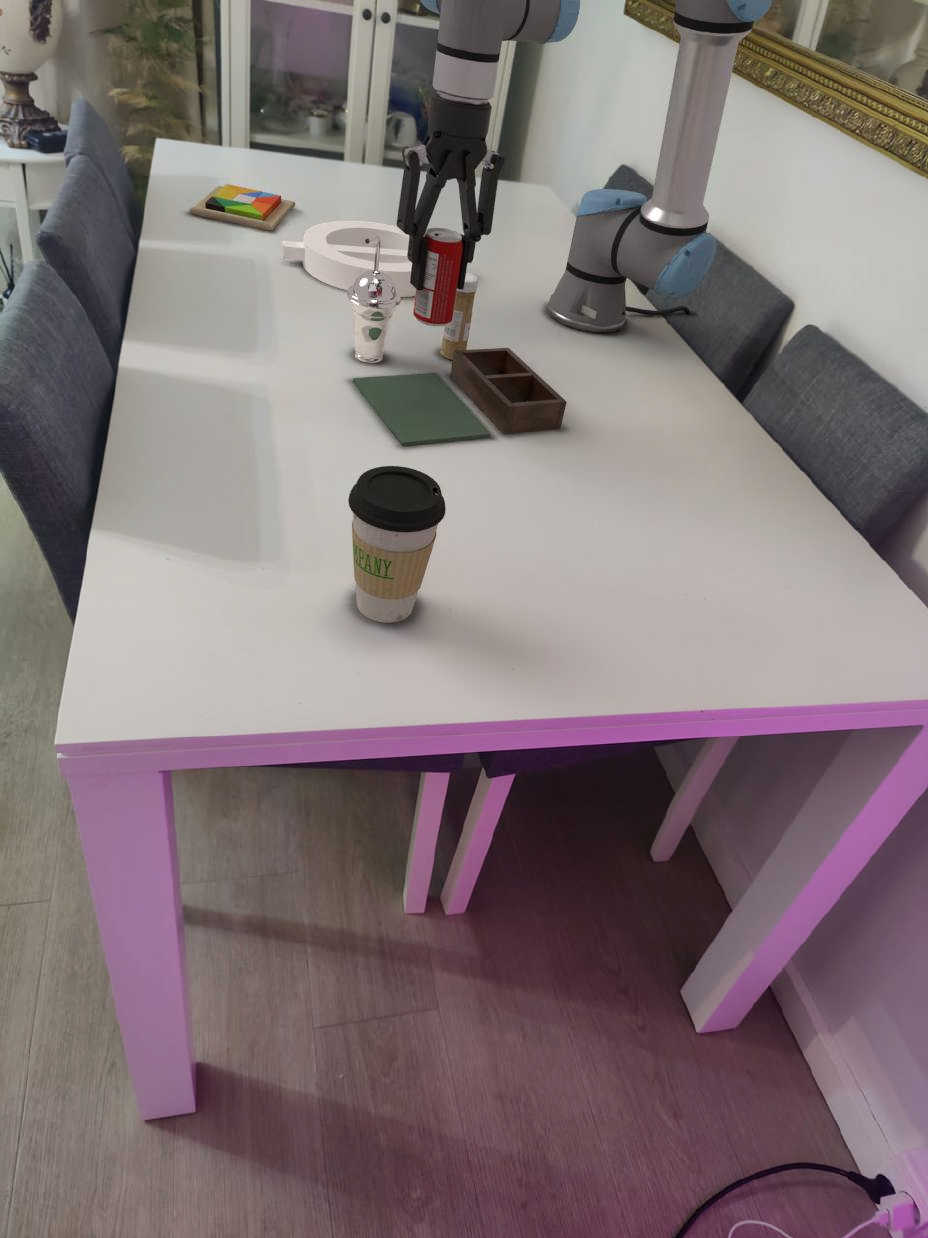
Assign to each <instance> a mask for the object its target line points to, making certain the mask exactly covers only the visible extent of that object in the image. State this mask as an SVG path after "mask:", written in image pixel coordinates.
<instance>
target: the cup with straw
mask: <svg viewBox="0 0 928 1238" xmlns="http://www.w3.org/2000/svg"><path fill="white" fill-rule="evenodd" d="M373 242H376V251H375V263H374V270H369V271H366V272H364V273H362V274H360V275H359V276H358V277H357V279H356V280H355V282H354V284H353V285H352V286H350V287H349V289H348V291H347V292H346V297H347V299H348V300H349V301H351V308H352V316H353V341H354V351H355V353H354V357H355V358H356V359H357V360H358V361H360V362H363V363H369V364H376V363H379V362H381V361H383V359H384V357H383V355H384V353H385V350H386V345H387V341H388V337H389V331H390V327H391V322H392V319H393V317H394V314H395V311H396V308H397V307H399V306H400V305H401V303H402V297H401V296H400V294H399V292H397V290H396V286H395V284H394V282H393V280H392V279H391V277H389V276H388V275H387V274H386V273H384V272H382V271H379V270H378V269H379V258H380V247H381V239H380V237H379V236H375V237H372V238H368V239H366V240H365V243H366V244H369V243H373Z"/></svg>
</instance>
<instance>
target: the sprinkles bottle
mask: <svg viewBox="0 0 928 1238" xmlns="http://www.w3.org/2000/svg"><path fill="white" fill-rule="evenodd" d="M478 287H479V278H478V276H477V275H475V274H473V273H471V272H470V273H469V272H467V271H466V276H465V283H464V289H458V288H457V291H456V298H455V304H454V311H453V318H452V321H451V322H450V323H448V324H447V325H445V326H443V328H442V329H443V330H442V340H441V348H440V350H439V353H440V355H441V356H442V357H443V358H445V359H448V360H452V361H453V355H454V351H455V350H468V342H469V338H470V330H471V325H472V317H473V308H474V302H475V297H476V293H477V290H478Z"/></svg>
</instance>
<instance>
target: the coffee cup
mask: <svg viewBox="0 0 928 1238" xmlns="http://www.w3.org/2000/svg"><path fill="white" fill-rule="evenodd" d="M347 499H348V500H347V501H348V507H349V509H350V510H351V512H352V520H351V538H352V557H353V558H352V559H353V561H352V562H353V577H354V582H355V593H356V595H355V596H356V597H355V599H356V607H357V609H358V611H359V612H360V613H361V614H362V615H363V616H364V617H366V618H367V619H369V620H371V621H375V622H378V623H386V624H392V623H399V622H401V621H404V620H405V619H407V618H408V617H409V616H410V615H411V614H412V612H413V610H414V606H415V603H416V600H417V596H418V594H419V593H418V592H419V590H420V589H421V587H422V585H423V584H422V583H423V581H424V577H425V574H426V571H427V568H428V564H429V561H430V557H431V555H432V551H433V548H434V545H435V542H436V539H437V529H438V525H439V524H440V523H441V522H442V521H443V520H444V517H445V516H446V509H447V508H446V501H445V498H444V496H443V492H442V488H441V486H440V485H439V483H438V482H437V481H436V480H435V479H434V478H433V477H431V476H430V475H428V474H427V473H425V472H423V471H420V470H418V469H416V468H415V469H414V468H411V467H406V466H399V465H382V466H378V467H377V466H376V467H373V468H371V469H368V470H366V471H363V473H362V474H361V475H359V477H358V479H357V481H356V483H355V484H354V485H353V487H352V488H351V489H350V492H349V495H348V498H347Z"/></svg>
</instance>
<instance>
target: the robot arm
mask: <svg viewBox="0 0 928 1238" xmlns="http://www.w3.org/2000/svg"><path fill="white" fill-rule="evenodd" d="M669 1H671V2H674V3H675V8H674V15H673V20H672V21H673V22H672V23H673V25H674V28H676V30H677V32H678V34H679V36H680V39H679V45H678V51H677V56H676V60H675V61H676V62H675V66H674V67H675V68H674V73H673V78H672V84H671V88H670V95H669V99H668V105H667V106H668V107H667V111H666V116H665V117H666V118H665V123H664V129H663V134H662V140H661V145H660V151H659V155H658V156H659V157H658V161H657V162H658V163H657V168H656V174H655V179H654V184H653V189H652V194H651V198H649V200H648V197H647V195H645V194H643V193H640V192H635V191H631V190H624V189H618V188H617V189H616V188H615V189H614V188H597V189H596V188H595V189H591V190H588V191H586V192H585V193H584V194H583V195H582V198H581V200H580V204H579V207H578V211H577V213H576V215H575V216H576V218H575V223H574V227H573V233H572V237H571V241H570V247H569V252H568V256H567V260H566V265H565V270H564V272H563V274H562V276H561V278H560V280H559V281H558V283H557V285H556V287H555V289H554V291H553V293H552V294H551V295H550V297H549V300H548V303H547V310H546V311H547V313H548V315H549V316H550V317H551V318H552V319H554V320H555V321H556V322H558V323H560V324H562V325H564V326H567V327H569V328H572V329H576V330H579V331H584V332H588V333H598V334H609V333H615V332H618V331H620V330H622V329H623V328H624V326H625V323H626V319H627V312H628V313H636V314H640V315H641V314H642V315H648V316H663V315H667V314H672V313H673V314H674V313H676V312H679V311H683V312H684V313H685V314H686V315H688V316H689V315H692V312H691V310H690V309H689V308H688V307H687V306H684V305H679V306H675V307H671V308H665V309H661V310H653V309H643V308H638V307H633V306H627V300H626V299H627V297H626V282H627V279H629V280H631V281H633V282H635V283H637V284H640V285H641V286H643V287H646V288H648V289H650V290H652V291H654V293H656V294H662V295H664V296H667V297H670V298H673V299H674V298H675V299H678V298H682V297H684V296H687V295H688V294H690V293H691V292H692V291H694V290H695V288H696V287H698V286H699V284H700V283H701V282H702V281H703V279H704V278H705V277H706V275H707V273H708V271H709V270H710V268H711V266H712V264H713V261H714V260H715V259H714V258H715V256H716V253H717V241H716V238H715V237H714V236H713V234H712V233H711V232H707V229H708V225H709V220H710V213H709V211H708V210H707V209H706V207H705V206H704V202H705V197H706V191H707V189H708V188H707V187H708V183H709V178H710V175H711V174H710V173H711V170H712V164H713V160H714V155H715V152H716V151H715V150H716V146H717V141H718V139H719V134H720V128H721V125H722V119H723V114H724V110H725V107H726V101H727V97H728V92H729V87H730V83H731V78H732V74H733V69H734V66H735V62H736V61H735V60H736V56H737V52H738V46H739V43H740V42H741V41H742V39H744V38H745V37H746V36H748V35H749V34H750V33H751V32H752V30H753V27H754V24H755V23H754V22H755V21H757V20H759V19H761V18H762V17H764V16H765V15H766V14H767V12H768V11H769V9H770V8H771V7H772V3H773V2H772V0H669ZM420 2H421V4H422V5H423V6H424V7H425V8H426V9H427V10H429V11H431V12H433V13H436V14H438V15H439V24H438V26H439V27H438V34H437V43H436V50H435V51H436V52H435V57H434V58H435V59H434V67H433V68H434V69H433V77H432V87H433V89H434V90H435V92H433V93H432V94H431V95H430V101H429V102H430V103H429V111H428V117H427V119H428V120H427V132H426V133H427V134H426V136H425V138H424V140H423V142H422V144H420V145H416V146H413V147H410V146H408V145H405V146H403V147H402V149H401V156H402V162H403V166H404V167H403V174H402V181H401V188H400V195H399V202H398V209H397V216H396V226H397V227H398V228H399V229H400V230H401V231H403V232H404V233H405V234H407V235H409V244H408V253H407V257H408V260H409V261H410V262H411V263H412V269H411V277H410V283H411V284H412V285H413V286H414V287H415V288H416V289H417V290H423V284H424V276H425V268H426V260H427V252H428V244H429V241H428V240H427V239H426V238H425V237H424V235H425V232H426V230H427V229H428V227H429V225H430V221H431V219H432V216H433V213H434V211H435V208H436V205H437V202H438V200H439V197H440V195H441V192H442V189H444V188H445V186H446V184H447V182H448V181H450V180H454V179H455V180H456V182H457V184H458V194H459V195H458V196H459V203H460V204H459V205H460V213H461V215H460V216H461V224H462V225H461V226H462V231H463V233H460V234H461V236H462V246H463V250H462V257H461V264H460V271H459V277H458V284H457V288H458V289H464V283H465V276H466V272H467V269H468V264H472V263H473V261H474V256H475V251H476V244H477V243H479V242H480V241H481V240H482V236H484V235H485V236H489V235H490V234H491V232H492V228H493V221H494V214H495V213H494V212H495V205H496V198H497V190H498V182H499V176H500V173H501V171H502V169H503V166H504V164H505V162H506V161H505V156H504V155H501V154H499V153H498V152H497V151H495V150H489V149H488V144H487V140H486V138H487V135H488V133H489V129H490V121H491V117H492V116H491V115H492V109H493V106H492V105H491V103H490V101H489V100H491V99H493V98H494V96H495V90H496V82H497V76H498V69H499V61H500V55H501V51H502V50H501V49H502V45H503V42H506V41H510V42H511V41H512V42H521V43H522V42H525V43H538V44H540V45H545V44H549V43H550V44H551V43H559V42H562V41H563V40H565V39H566V38H568V36H569V35H570V34H571V33H572V32H573V30H574V28H575V27H576V25H577V23H578V19H579V15H580V9H581V0H420ZM425 157H426V159H427V161H428V163H429V165H428V168H427V171H426V173H425V182H424V185H423V188H422V190H421V193H420V196H419V199H418V193H419V187H420V180H421V167H422V166H424V158H425ZM481 163H482V164H481ZM480 164H481V165H482V170H481V175H480V176H481V177H480V184H479V193H478V200H477V199H476V198H477V197H476V186H477V181H476V180H477V178H476V169H477V168H478V167H479V165H480ZM417 199H418V200H417Z"/></svg>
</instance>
